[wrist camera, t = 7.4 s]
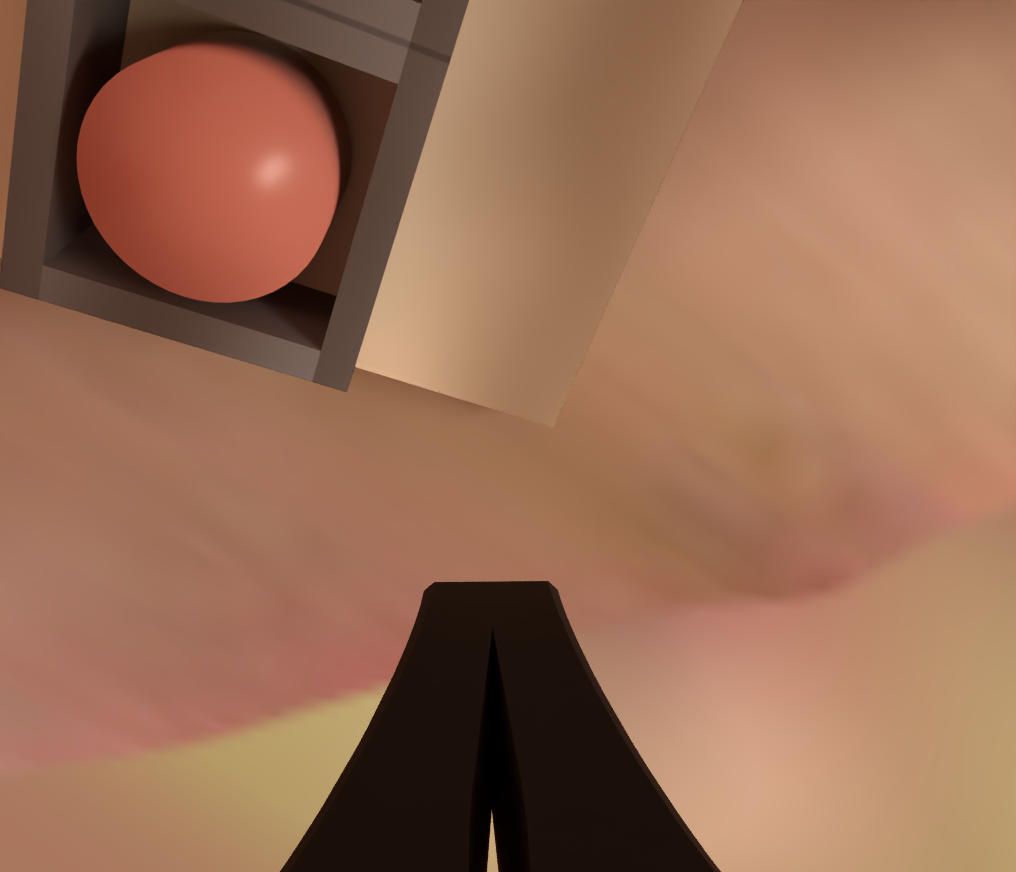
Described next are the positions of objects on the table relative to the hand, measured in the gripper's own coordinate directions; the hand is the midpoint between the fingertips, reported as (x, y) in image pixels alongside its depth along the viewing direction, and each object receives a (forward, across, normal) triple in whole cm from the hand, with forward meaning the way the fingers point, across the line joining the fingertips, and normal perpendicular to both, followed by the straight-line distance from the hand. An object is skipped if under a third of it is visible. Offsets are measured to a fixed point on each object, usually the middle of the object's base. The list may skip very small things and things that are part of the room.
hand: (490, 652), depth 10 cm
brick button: (+8, +4, -4) cm, 10 cm away
